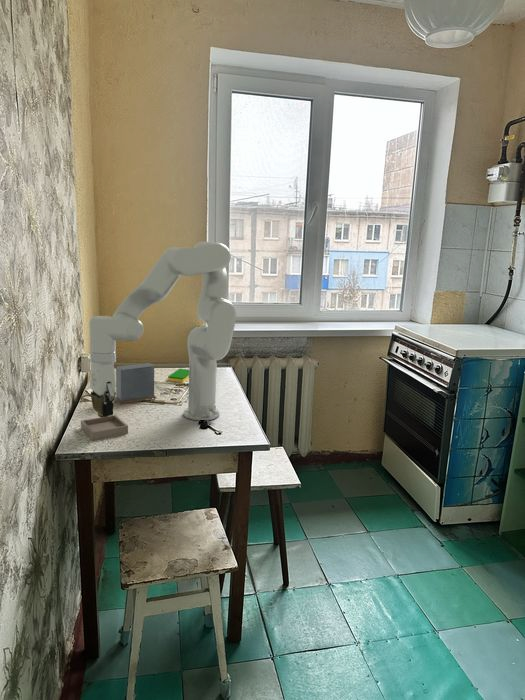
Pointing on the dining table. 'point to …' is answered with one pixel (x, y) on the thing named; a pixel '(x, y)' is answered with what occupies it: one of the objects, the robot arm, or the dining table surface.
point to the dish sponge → (179, 375)
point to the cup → (99, 402)
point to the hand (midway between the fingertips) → (103, 411)
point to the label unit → (134, 383)
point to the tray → (104, 427)
